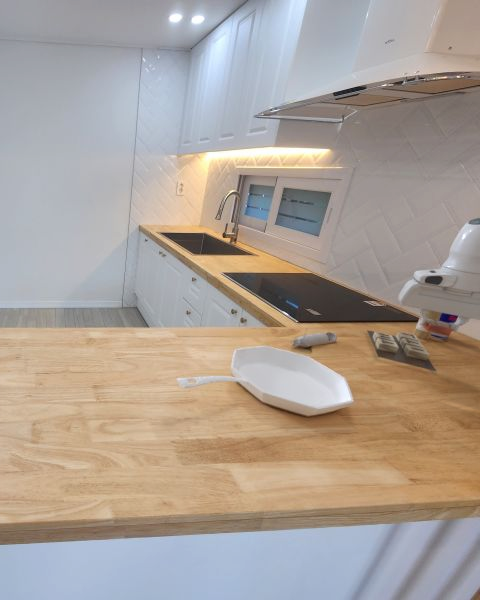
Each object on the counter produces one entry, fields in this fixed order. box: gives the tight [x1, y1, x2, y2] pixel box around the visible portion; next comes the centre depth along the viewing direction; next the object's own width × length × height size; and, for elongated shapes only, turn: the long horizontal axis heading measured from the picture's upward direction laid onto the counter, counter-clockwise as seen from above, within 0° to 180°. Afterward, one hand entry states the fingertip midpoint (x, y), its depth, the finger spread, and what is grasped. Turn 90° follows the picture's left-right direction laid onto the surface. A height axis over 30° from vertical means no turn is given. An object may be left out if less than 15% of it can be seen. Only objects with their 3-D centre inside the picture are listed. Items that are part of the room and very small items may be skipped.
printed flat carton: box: [395, 331, 430, 361], centre depth 106 cm, size 4×16×2 cm, turn 148°
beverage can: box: [430, 313, 459, 340], centre depth 114 cm, size 6×6×15 cm
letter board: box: [366, 329, 437, 372], centre depth 106 cm, size 13×22×1 cm, turn 148°
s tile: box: [423, 321, 453, 337], centre depth 94 cm, size 4×4×2 cm
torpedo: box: [290, 327, 338, 348], centre depth 106 cm, size 18×5×6 cm, turn 110°
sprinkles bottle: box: [411, 311, 442, 341], centre depth 113 cm, size 5×5×13 cm
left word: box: [373, 331, 399, 353], centre depth 107 cm, size 4×10×2 cm, turn 148°
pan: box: [176, 345, 355, 418], centre depth 81 cm, size 25×44×6 cm, turn 107°
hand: (437, 327), depth 94 cm, fingers closed on s tile, 4 cm apart
